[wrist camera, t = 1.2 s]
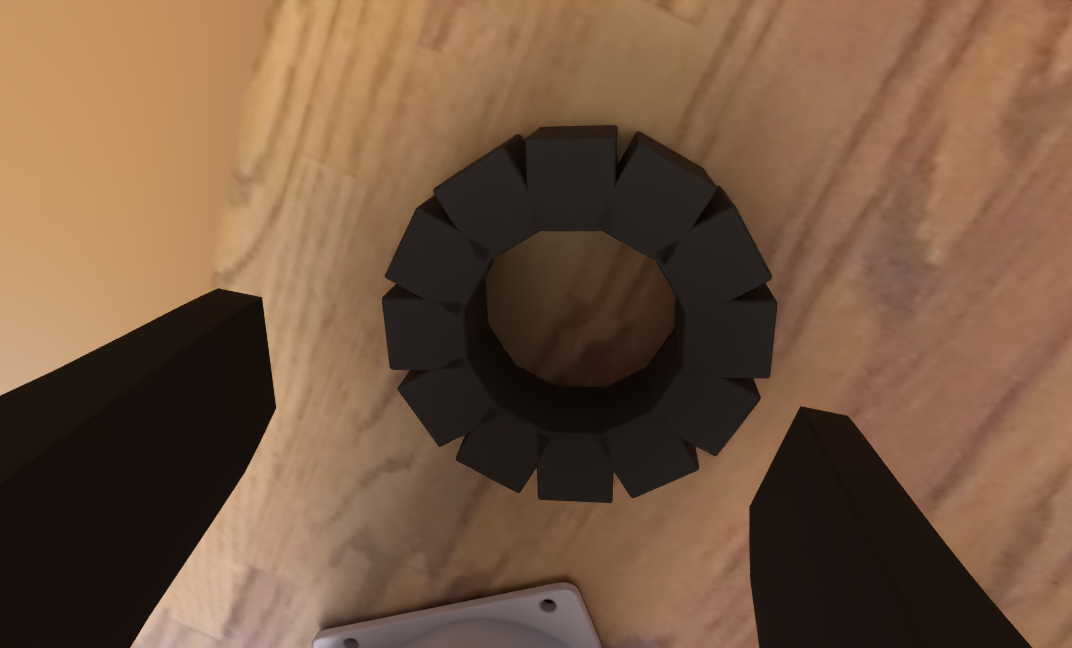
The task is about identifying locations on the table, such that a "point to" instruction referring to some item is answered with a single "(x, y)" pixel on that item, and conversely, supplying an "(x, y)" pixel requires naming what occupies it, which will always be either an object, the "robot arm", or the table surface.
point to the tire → (580, 412)
